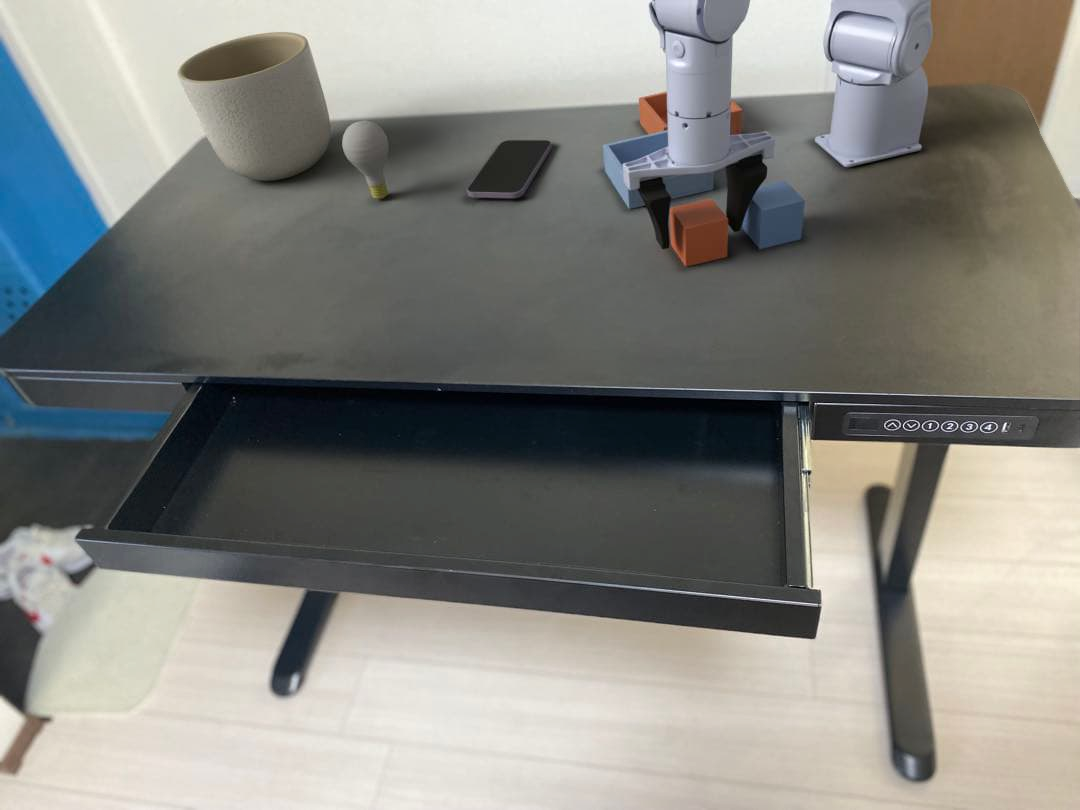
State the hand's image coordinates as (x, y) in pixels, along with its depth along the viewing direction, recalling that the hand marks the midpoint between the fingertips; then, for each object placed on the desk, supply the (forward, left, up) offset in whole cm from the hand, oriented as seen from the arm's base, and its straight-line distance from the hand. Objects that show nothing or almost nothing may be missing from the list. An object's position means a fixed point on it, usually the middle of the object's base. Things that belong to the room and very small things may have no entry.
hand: (698, 235), depth 81 cm
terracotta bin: (-9, -28, -2) cm, 29 cm away
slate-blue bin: (-1, -17, -2) cm, 17 cm away
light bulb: (+32, -28, -2) cm, 43 cm away
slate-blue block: (-8, 0, -2) cm, 8 cm away
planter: (+45, -45, -2) cm, 64 cm away
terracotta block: (0, 0, -2) cm, 2 cm away
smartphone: (+15, -27, -2) cm, 31 cm away
